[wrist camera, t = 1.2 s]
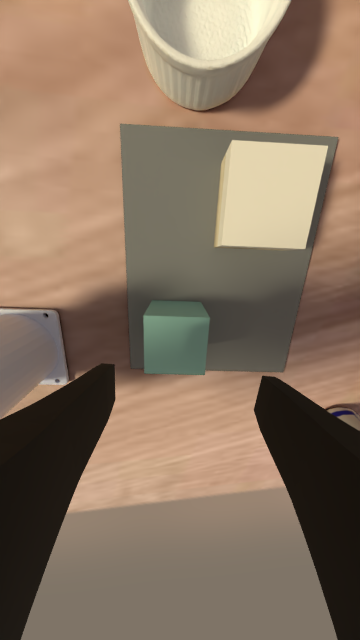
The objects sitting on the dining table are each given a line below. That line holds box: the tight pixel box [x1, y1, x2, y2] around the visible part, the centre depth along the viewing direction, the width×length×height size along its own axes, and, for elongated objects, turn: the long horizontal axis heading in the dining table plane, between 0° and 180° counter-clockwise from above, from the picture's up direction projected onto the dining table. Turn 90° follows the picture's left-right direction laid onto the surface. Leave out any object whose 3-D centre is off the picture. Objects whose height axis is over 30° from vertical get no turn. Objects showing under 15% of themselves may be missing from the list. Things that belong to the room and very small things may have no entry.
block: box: [143, 300, 210, 375], centre depth 16 cm, size 4×4×5 cm
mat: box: [120, 124, 338, 372], centre depth 17 cm, size 16×20×1 cm
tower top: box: [217, 140, 328, 250], centre depth 13 cm, size 6×6×2 cm
